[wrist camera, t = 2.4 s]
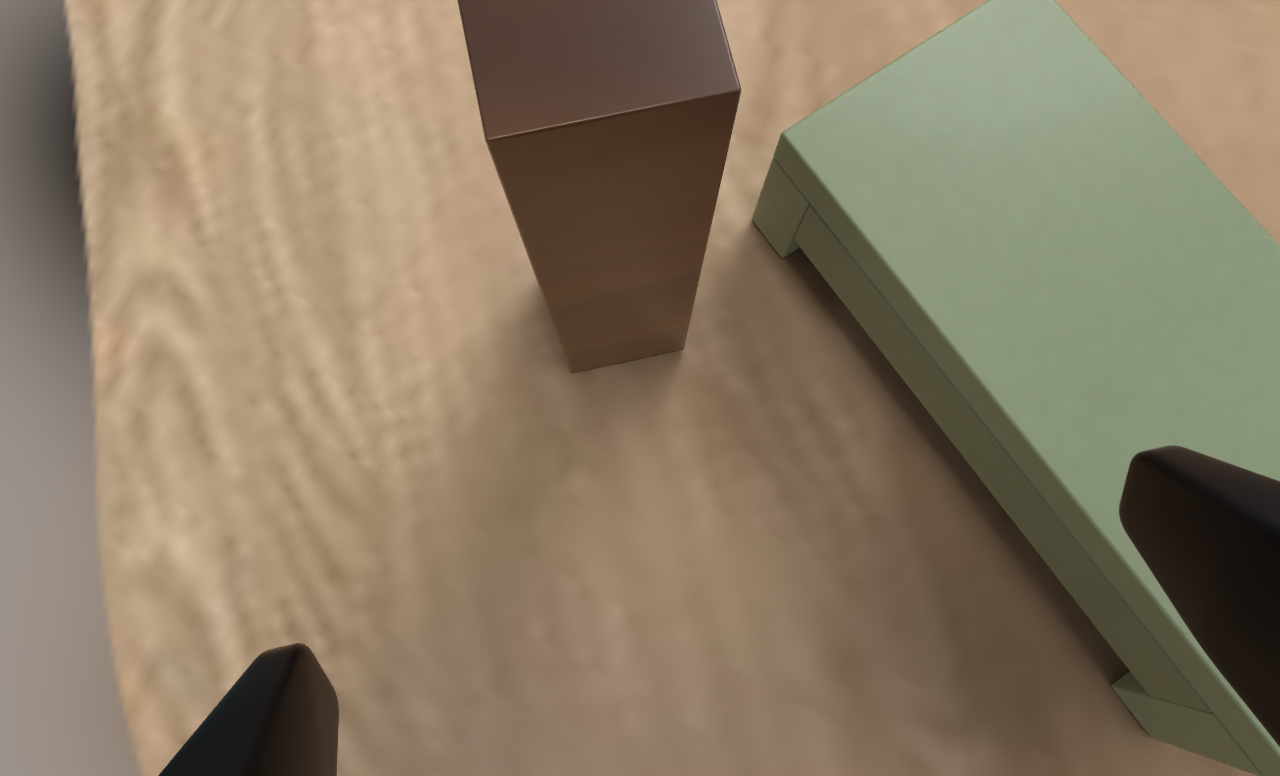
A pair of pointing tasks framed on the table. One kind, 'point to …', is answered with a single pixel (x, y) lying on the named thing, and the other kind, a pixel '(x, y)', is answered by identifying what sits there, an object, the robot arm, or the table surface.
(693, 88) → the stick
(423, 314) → the table surface
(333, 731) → the robot arm
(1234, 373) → the sage green box
